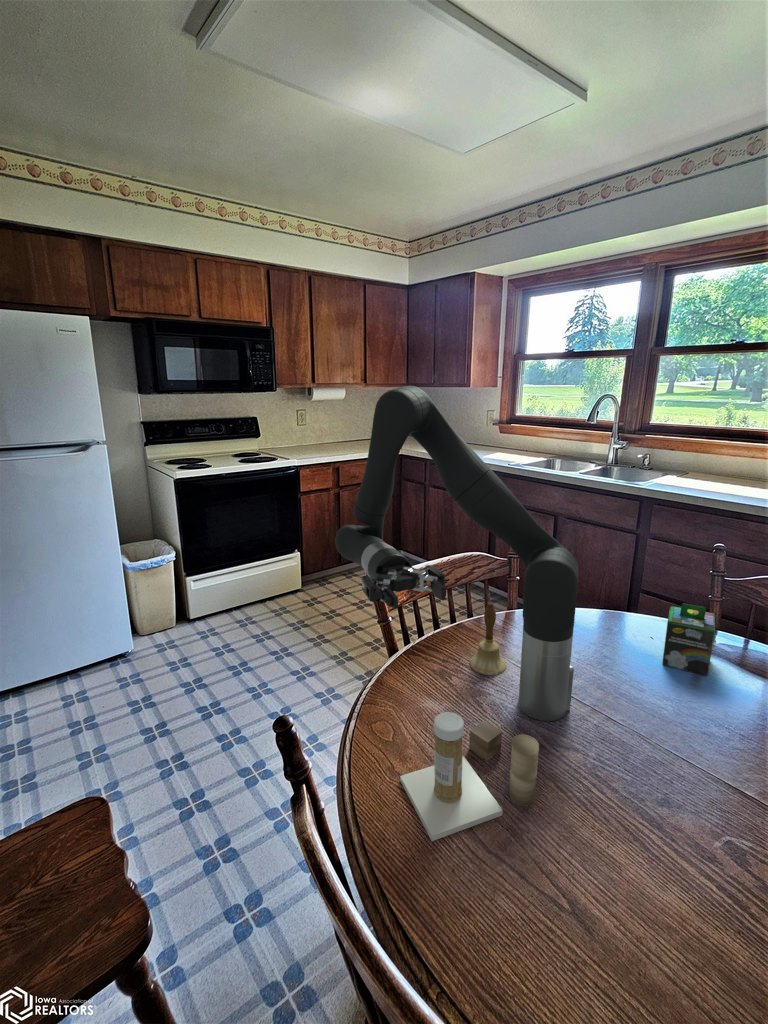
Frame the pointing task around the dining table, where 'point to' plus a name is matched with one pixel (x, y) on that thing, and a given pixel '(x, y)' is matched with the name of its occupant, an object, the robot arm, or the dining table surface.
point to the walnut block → (485, 740)
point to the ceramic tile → (450, 815)
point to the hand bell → (488, 648)
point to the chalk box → (689, 638)
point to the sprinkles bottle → (448, 756)
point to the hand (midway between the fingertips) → (420, 599)
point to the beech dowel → (523, 769)
